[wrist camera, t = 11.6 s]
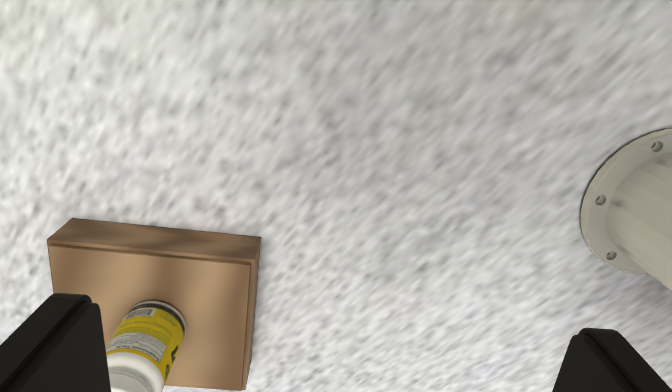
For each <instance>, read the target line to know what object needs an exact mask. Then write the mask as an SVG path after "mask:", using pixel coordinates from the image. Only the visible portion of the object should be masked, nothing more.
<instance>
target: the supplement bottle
mask: <svg viewBox="0 0 672 392" xmlns="http://www.w3.org/2000/svg"><path fill="white" fill-rule="evenodd" d="M185 332H186V324H185V321H184V318H183V317H182V315H181V314H180V313H179V311H177V310H176V309H175V308H174V307H172V306H170V305H168V304H166V303H163V302H159V301H145V302H141V303H139V304H137V305H135V306H133V307H132V308H131V309H130V310H129V311H128V312H127V314H126V315H125V317H124V319H123V320H122V322H121V323H120V325H119V327H118V328H117V330H116V331H115V333H114V334H113V336H112V338H111V339H110V341H109V342H108V344H107V346H106V347H105V348H106V356H107V363H108V371H109V378H110V386H111V392H162V390H163V387H164V385H165V382H166V380H167V378H168V375H169V373H170V370H171V368H172V366H173V363H174V361H175V358H176V356H177V353H178V351H179V348H180V346H181V344H182V341H183V338H184V336H185Z"/></svg>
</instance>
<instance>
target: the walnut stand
mask: <svg viewBox="0 0 672 392" xmlns="http://www.w3.org/2000/svg"><path fill="white" fill-rule="evenodd" d="M260 242H261V237H253V236H243V235H233V234H223V233H213V232H204V231H194V230H184V229H174V228H164V227H154V226H144V225H134V224H124V223H114V222H105V221H95V220H85V219H75V218H72V219H71V220H70V221H68V222H67V223H66V224H65V225H64V226H62V227H61V228H60V229H59V230H58V231H56V232H55V233H54V234H53V235H52V236H50V237H49V238H48V239H47V245H48V253H49V261H50V269H51V277H52V285H53V293H69V294H84V295H88V296H89V297H90V298H91V300H92V303H97V304H98V305H99V306H100V311H101V318H102V326H103V333H104V341H105V347H106V346H107V344H108V342H109V341H110V339H111V338H112V336H113V334H114V333H115V331H116V330H117V328H118V327H119V325H120V323H121V322H122V320H123V319H124V317H125V315H126V314H127V312H128V311H129V310H130V309H131V308H132V307H133V306H135V305H137V304H139V303H141V302H145V301H159V302H163V303H166V304H168V305H170V306H172V307H174V308H175V309H176V310H177V311H179V313H180V314H181V315H182V317H183V318H184V321H185V324H186V332H185V336H184V338H183V341H182V344H181V346H180V348H179V351H178V353H177V356H176V358H175V361H174V363H173V366H172V368H171V370H170V373H169V375H168V378H167V380H166V382H165V385H167V386H181V387H195V388H209V389H222V390H236V391H241V390H245V389H246V384H247V379H248V374H249V369H250V364H251V356H252V343H253V331H254V318H255V305H256V293H257V280H258V267H259V254H260Z"/></svg>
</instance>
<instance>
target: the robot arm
mask: <svg viewBox="0 0 672 392" xmlns="http://www.w3.org/2000/svg"><path fill="white" fill-rule="evenodd" d="M581 228H582V233H583V237H584V239H585V241H586V243H587V245H588V247H589V248H590V249H591V250H592V251H593V253H594V254H595V255H596V256H597V257H598V258H599V259H601V260H602V261H603V262H604V263H605V264H607V265H609V266H611V267H613V268H614V269H616V270H620V271H623V272H626V273H633V274H650V275H652V276H653V277H654V278H655V279H657V280H658V281H659V282H660V283H662V284H663V285H664V286H666V287H667V288H668V289H669V290H671V291H672V129H665V130H661V131H657V132H653V133H650V134H648V135H646V136H643V137H641V138H638V139H636V140H635V141H633V142H631V143H630V144H628V145H626V146H625V147H623V148H622V149H620V150H619V151H618V152H617V153H616V154H614V155H613V156H612V157H611V158H610V159H609V160H608V161H607V162H606V163H605V164H604V165H603V166H602V168H601V169H600V170H599V171H598V172H597V174H596V175H595V177H594V179H593V180H592V182H591V183H590V185H589V187H588V190H587V192H586V194H585V197H584V200H583V204H582V209H581ZM0 392H111V386H110V378H109V371H108V363H107V356H106V348H105V341H104V333H103V326H102V318H101V311H100V306H99V305H98V304H97V303H92V300H91V298H90V297H89V296H88V295H84V294H69V293H54V294H52V295H51V296H50V297H49V298H48V299H47V300H46V301H45V302H44V303H42V304H41V305H40V306H39V307H38V308H37V309H36V310H35V311H34V312H33V313H32V314H31V315H30V316H29V317H28V318H27V319H26V320H25V321H24V322H23V323H22V324H21V325H20V326H19V327H18V328H17V329H16V330H15V331H14V332H13V333H12V334H11V335H10V336H9V337H8V338H7V339H6V340H5V341H4V342H3V343H2V344H1V345H0ZM552 392H672V390H671V388H670V387H669V386H668V385H667V384H666V383H665V382H664V381H663V380H662V379H661V378H660V376H659V375H658V374H657V373H656V372H655V371H654V370H653V369H652V368H651V367H650V365H649V364H648V363H647V362H646V361H645V360H644V359H643V358H642V357H641V356H640V355H639V353H638V352H637V351H636V350H635V349H634V348H633V347H632V346H631V345H630V344H629V342H628V341H627V340H626V339H625V338H624V337H623V336H622V335H621V334H620V333H619V332H618V331H615V330H611V329H596V328H584V329H582V330H581V331H580V332H579V334H578V335H574V336H573V337H572V338H571V340H570V343H569V346H568V348H567V351H566V354H565V357H564V360H563V363H562V365H561V368H560V371H559V374H558V377H557V380H556V382H555V385H554V388H553V391H552Z"/></svg>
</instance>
